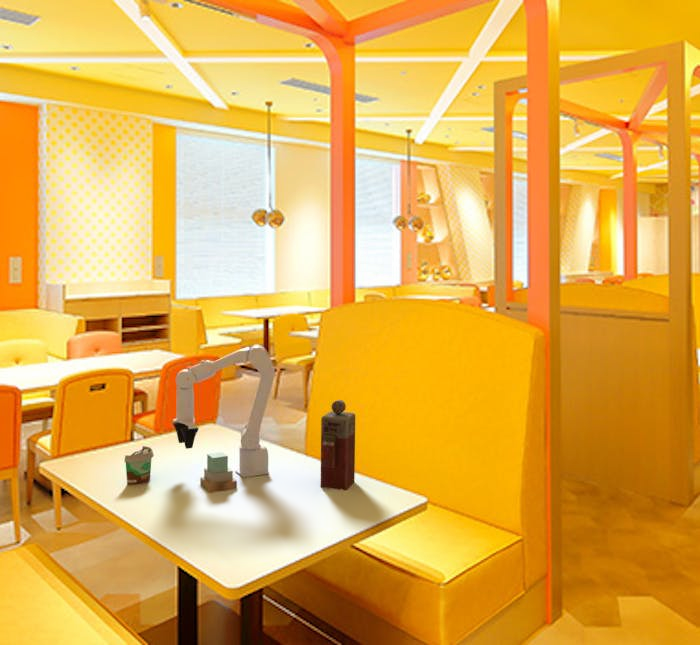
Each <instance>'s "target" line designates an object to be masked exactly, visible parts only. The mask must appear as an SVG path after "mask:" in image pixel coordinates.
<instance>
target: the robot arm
mask: <svg viewBox="0 0 700 645" xmlns="http://www.w3.org/2000/svg"><path fill="white" fill-rule="evenodd" d="M270 356H271V355H270V353H269V352H268V350H267V349H266V348H265V347H264V345H261V344H252V345H251V346H246V347H244V348H241V349H237V350H236V351H234V352H231V353H229V354H227V355H225V356H223V357H221V358H219V359H217V360H213V361H211V360H209V359H207V360H205V359H202V360H200V363H198V364H197V363H196V364H195V365H193V366H190V365H189V366H187V367H186V369H182V370H179V371H178V373H177V375H176V376H175V384H176V398H175V399H176V405H175V406H176V415H175V416H176V418H174V419H172V425H173V427H174V429H175V432H176V436H177V440H178V443H179V444H183V443H184V447H185V449H186V450H188V449H192V448H193V446H194V443H195V442H194V441H195V438H196V435H197V433H198V431H199V426H196V423H195V419H196V418H195V392H194V384H195V383H196V384H198V383H201V382H203V381H205V380H207V379H210V378H212V377H214V376H215V375H216V373H217V371H219V370H221V369H224V368H227V367H230V366H232V365H234V364H237V363H240V364H241V363H242V364H248V362H249V364H251V366H253V367H254V368H256V369H257V372H258V373H259V374H260V377H259V380H258V384H257V388H256V391H255V395H254V399H253V402H252V404H251V409H250V412H249V416H248V419H247V420H246V424H245V426H244V427H243V428H242V429H241V431H240V445H239V468H238V469H235V473H237V474H238V475H239V476H241V477H242V478H249V477H251V478H252V477H257V476H261V475H262V476H263V475H268V474H270V471H269V451H268V449H267V447H266V446H264V445H262V446H261V444H260V440H261V439H260V432H261V427H262V423H263V422H262V421H263V418H264V415H265V412H266V411H265V410H266V409H267V405H268V404H267V403H268V400H269V397H270V394H271V391H272V387H273V383H274V380H275V376H276V370H275V368H274V365H273V361H272V360H271V359H272V358H271V357H270Z"/></svg>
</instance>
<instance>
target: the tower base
mask: <svg viewBox="0 0 700 645" xmlns="http://www.w3.org/2000/svg"><path fill="white" fill-rule="evenodd" d="M199 480H200V486H201V487H202V488H203V489H205V490H206V492H207V493H209V494H212V493H213V494H214V493H219V492H222V491H224V492H225V491H231V490H235V489H237V488H238V481H237V480H236V479H235V478H234V477H233V480H230V481H224V482H218V483H211V482H209V481H208V480H207V479H206V478H205V477H204V476H202V477H200V479H199Z"/></svg>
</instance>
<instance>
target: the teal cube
mask: <svg viewBox="0 0 700 645" xmlns="http://www.w3.org/2000/svg"><path fill="white" fill-rule="evenodd" d="M206 455H207V456H206V457H207V458H206V461H207V462H206V464H207V465H206V466H207V467H206V468H207V469H208V470H209V471H210V472H212V473H219V472H225V471H228V468H229V466H228V464H229V463H228V462H229V459H228V458H229V456H228V454H226V453H224V452H223V451H220V452H213V453H212V452H211V453H207V454H206Z"/></svg>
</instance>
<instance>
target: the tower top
mask: <svg viewBox="0 0 700 645" xmlns="http://www.w3.org/2000/svg"><path fill="white" fill-rule="evenodd" d="M233 473H234V471H233V470H232V469H231V468H229V467H228V471H225V472H219V473H212V472H210V471H209V470H208V469H207V467H204V470H203V474H204V475H203V477H205V478H206V479H207V480H208V481H209V482H211V483H218V482H224V481H230V480H233V478H234V477H233V476H234V474H233Z"/></svg>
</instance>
